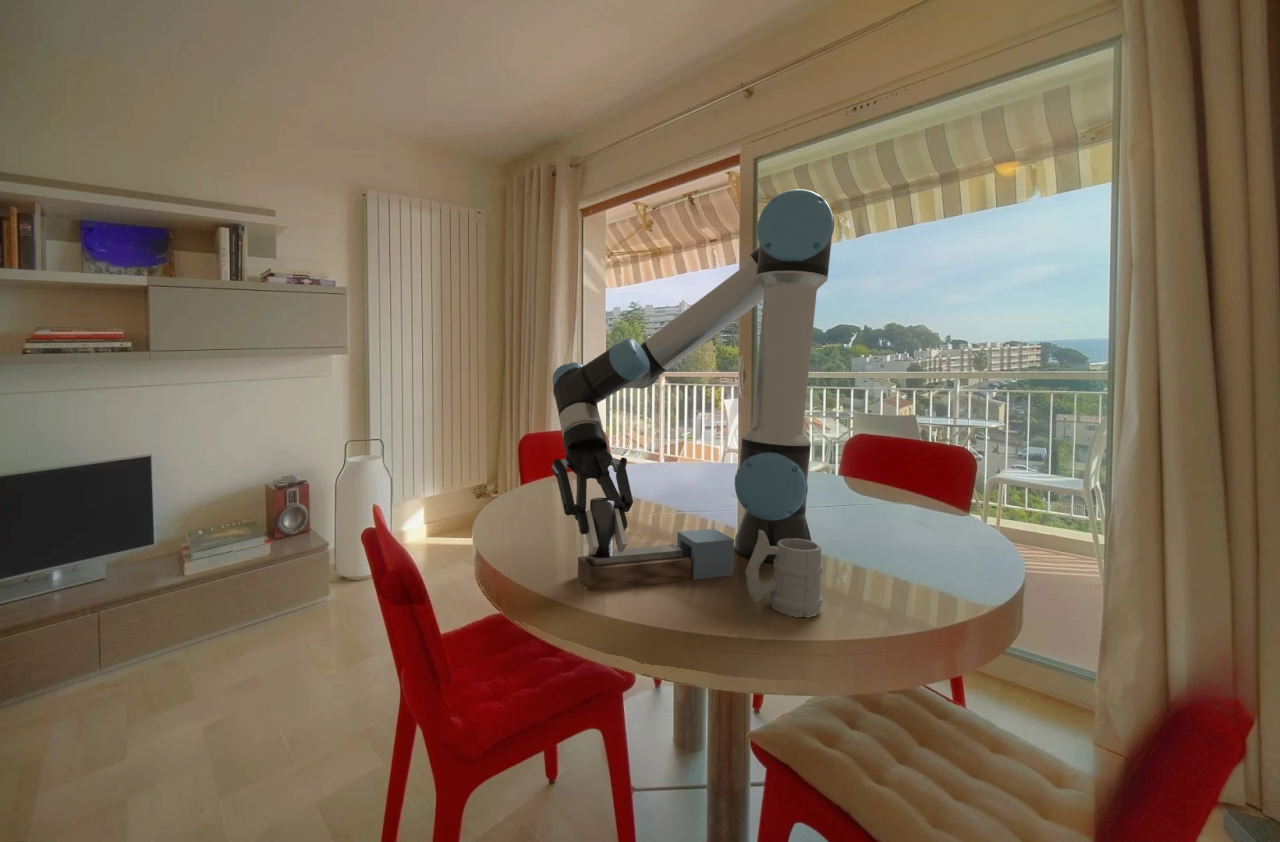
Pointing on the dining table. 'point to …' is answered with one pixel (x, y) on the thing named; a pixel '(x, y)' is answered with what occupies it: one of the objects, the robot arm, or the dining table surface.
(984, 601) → the dining table surface
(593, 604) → the dining table surface
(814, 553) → the mug
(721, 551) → the socket block
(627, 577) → the walnut channel
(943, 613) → the dining table surface
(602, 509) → the l-shaped peg bar
